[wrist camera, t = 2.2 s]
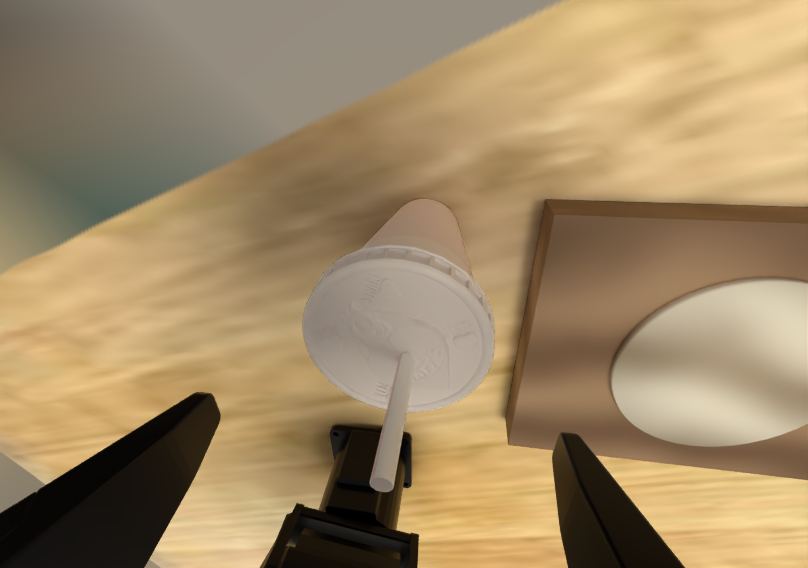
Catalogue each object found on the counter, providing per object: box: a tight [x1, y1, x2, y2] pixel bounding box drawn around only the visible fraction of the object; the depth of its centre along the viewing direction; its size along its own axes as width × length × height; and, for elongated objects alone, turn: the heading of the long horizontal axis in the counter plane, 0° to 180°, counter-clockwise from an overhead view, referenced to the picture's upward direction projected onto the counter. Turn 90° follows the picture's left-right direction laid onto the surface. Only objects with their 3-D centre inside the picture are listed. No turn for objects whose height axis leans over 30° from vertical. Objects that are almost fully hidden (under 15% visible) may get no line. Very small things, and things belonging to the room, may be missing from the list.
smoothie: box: [303, 199, 495, 492], centre depth 14 cm, size 6×6×14 cm
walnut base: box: [506, 199, 808, 480], centre depth 20 cm, size 16×20×3 cm
